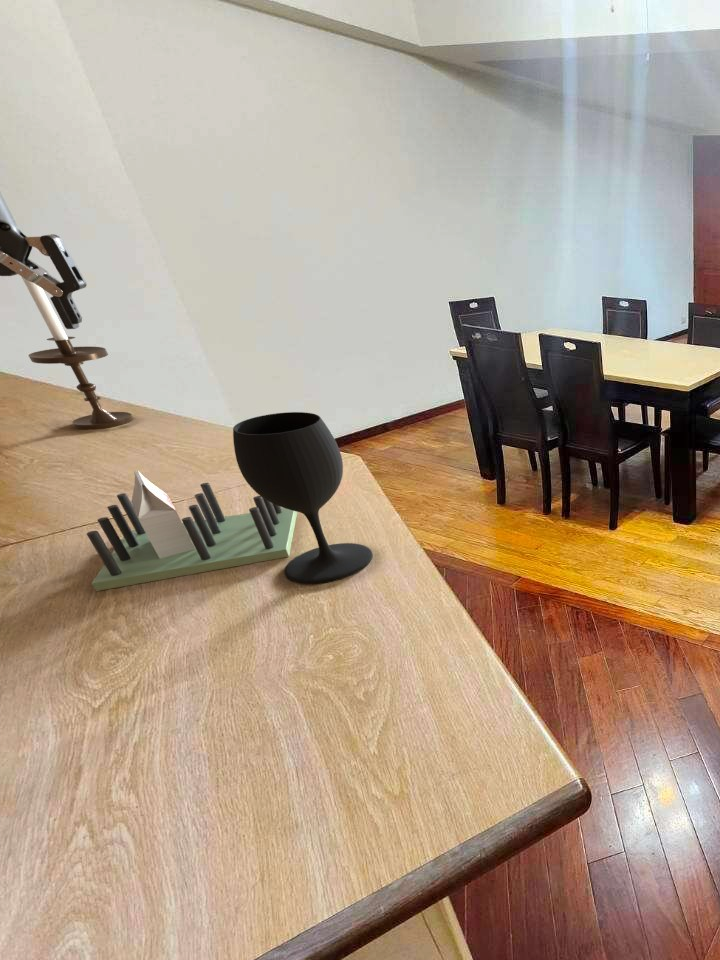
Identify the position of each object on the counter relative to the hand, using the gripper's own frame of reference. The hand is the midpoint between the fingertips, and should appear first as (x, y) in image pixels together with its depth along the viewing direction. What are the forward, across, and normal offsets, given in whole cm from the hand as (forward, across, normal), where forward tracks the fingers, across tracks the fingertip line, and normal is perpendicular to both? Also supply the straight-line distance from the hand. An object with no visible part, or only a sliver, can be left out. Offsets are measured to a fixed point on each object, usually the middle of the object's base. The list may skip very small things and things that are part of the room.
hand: (25, 330), depth 72 cm
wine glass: (+28, -25, +22) cm, 44 cm away
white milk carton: (+27, -6, +10) cm, 30 cm away
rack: (+28, -10, +10) cm, 31 cm away
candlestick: (+28, +18, -62) cm, 70 cm away
